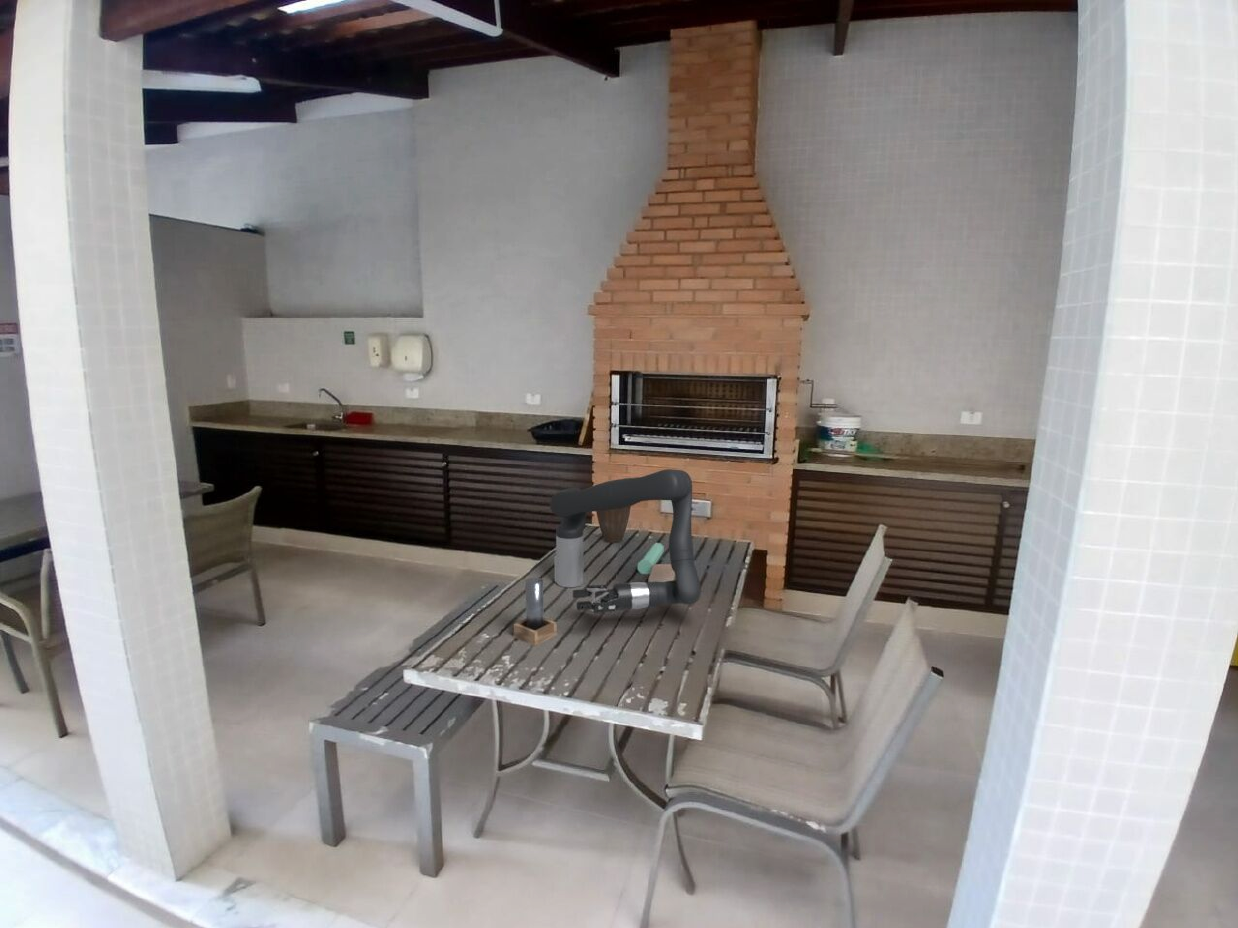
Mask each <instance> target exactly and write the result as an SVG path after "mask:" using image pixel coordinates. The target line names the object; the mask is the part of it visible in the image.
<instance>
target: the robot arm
mask: <svg viewBox="0 0 1238 928" xmlns="http://www.w3.org/2000/svg"><path fill="white" fill-rule="evenodd" d="M645 501H647V502H648V501H671V506H672V524H671V528H670V532H669V538H668V551H669V558H670V559H669V561H670V564H671V567H672V569H673V571H674V572H675V579H674V580H672V581H665V582H648V581H646V582H645V581H644V582H643V581H641V582H639V581H636V582H635V581H634V582H621V583H614V584H613V586H612V589H609V588H608V585H607V584H595V585H594V584H592V585H591V584H589V585H587V586H586V588H585V589H573V590H572V598H573V599H580V598H581V599H583V598H589V599H592V600H587V601H586V600H585V601H584V600H582V601H577V602H576V610H577V611H585V610H587V611H588V610H590V611H592V612H593V613H594V614H599V613H600V614H602V613H609V612H615V611H628V610H640V609H644V608H651V607H654V608H655V607H661V606H665V605H672V604H673V605H675V604H676V605H677V604H683V605H688V606H689V605H694V604H696V603H697V602H698V601H700V598H701V593H702V589H701V583H700V578H699V575H698V571H697V569H696V568H697V567H696V565H695V555H694V547H693V546H694V545H693V536H692V535H693V533H692V510H693V508H692V506H693V481H692V477H691V476H690V474H689V473H688V472H687V471H685V470H682V469H673V468H672V469H671V468H669V469H668V468H667V469H662V470H659V471H656V472H654V473H649V474H646V475H643V476H640V477H625V478H619V479H613V480H609V481H604V482H602V483H597V484H594V485H592V486H590V487H586V488H584V489H581V488H579V487H570V488H566V489H563V490H560V491H557V492H555V493H554V494H553V496H552V497H551V499H550V501H549V507H550V510H551V512H552V513H553V514H554V515H555V516H557V517H558V518H561V519H562V518H563V519H562V521H561V522H560V523H559V524H558V525H557V527H556V530H555V533H556V534H555V537H556V551H555V552H556V554H555V555H554V557H553V558H554V582H555V583H556V584H557V585H558V586H560V587H561V588H562V587H563V588H575V587H576V588H577V587H579V586H582V585H583V584H584V530H585V528H586V525H587V513H588V512H591V513H592V512H596V511H606V510H615V509H621V508H626V507H630V506H634V505H636V504H638V503H641V502H645Z"/></svg>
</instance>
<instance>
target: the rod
mask: <svg viewBox="0 0 1238 928" xmlns="http://www.w3.org/2000/svg"><path fill="white" fill-rule="evenodd" d="M544 609H545V608H544V579H542V578H539V577H532V578H530V577H529V578H527V579H526V580H525V615H526V616H525V619H526V627H527V628H530V629H532V630H534V631H535V630H537V629H539V628H541V627H543V626H544V618H545V617H544V616H545V615H544V614H545V613H544Z"/></svg>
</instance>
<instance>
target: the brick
mask: <svg viewBox="0 0 1238 928" xmlns="http://www.w3.org/2000/svg"><path fill="white" fill-rule="evenodd" d="M675 579H676V576H675V572H674V571H673V569H672V567H671V563H666V564H665V563H664V564H663V563H661V564H660V563H658V564H657V563H656V564H653V565H652V571H651V573H650V574H649V575H648V580H647V582H665V581H672V580H675Z"/></svg>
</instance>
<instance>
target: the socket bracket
mask: <svg viewBox="0 0 1238 928" xmlns="http://www.w3.org/2000/svg"><path fill="white" fill-rule="evenodd" d="M557 629H558V628H557V622H556V621H553V620H551V619H548V618H546V617H544V626H543V627H541V628H539V629H537V630H535V631H534V630H532V629H530V628H527V627H526V618H525V619H522V620H520V621H518V622H516V623H514V624H513V635H512V637H513V638H516V639H518V640H520V641H523V642H525V643H528V644H529V645H532V646H534V647H535V646H538V645H540V644H541V643H544V642H545V641H547V640H549V639H552V638H553V637H555V636H558V635H559V633H557Z"/></svg>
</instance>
